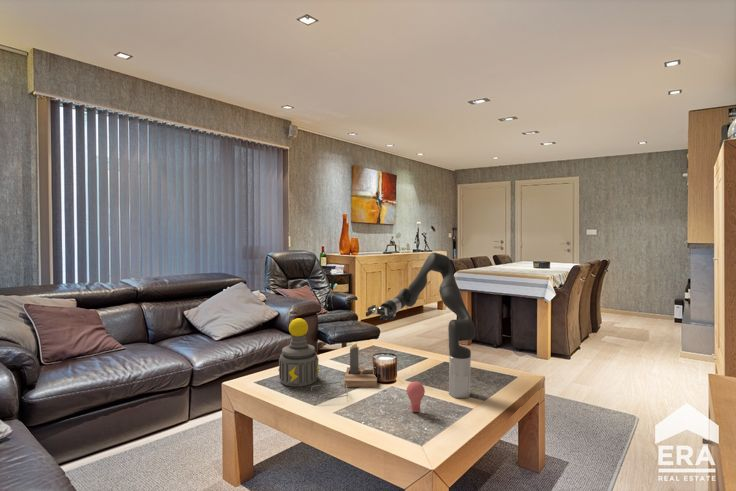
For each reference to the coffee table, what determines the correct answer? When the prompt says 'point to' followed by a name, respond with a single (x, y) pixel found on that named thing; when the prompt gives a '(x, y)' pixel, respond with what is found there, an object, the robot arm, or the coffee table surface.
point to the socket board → (361, 378)
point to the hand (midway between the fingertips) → (373, 317)
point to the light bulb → (415, 395)
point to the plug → (354, 359)
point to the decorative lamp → (298, 358)
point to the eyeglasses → (333, 397)
